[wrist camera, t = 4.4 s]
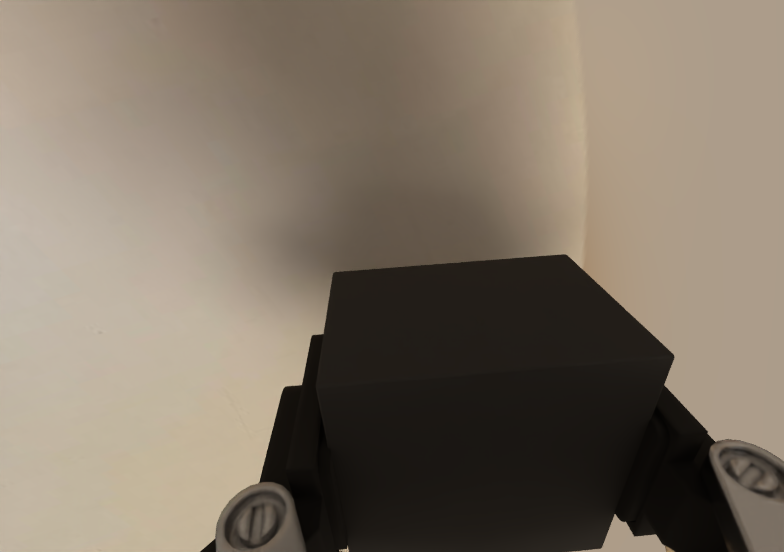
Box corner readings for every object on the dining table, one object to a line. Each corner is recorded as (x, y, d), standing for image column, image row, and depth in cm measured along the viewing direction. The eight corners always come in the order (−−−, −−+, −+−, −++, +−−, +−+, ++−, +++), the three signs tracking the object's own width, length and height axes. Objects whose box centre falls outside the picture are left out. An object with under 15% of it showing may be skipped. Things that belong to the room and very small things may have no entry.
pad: (332, 271, 10) (314, 386, 6) (566, 253, 10) (676, 356, 6) (356, 433, 13) (353, 574, 9) (537, 417, 13) (602, 549, 9)
